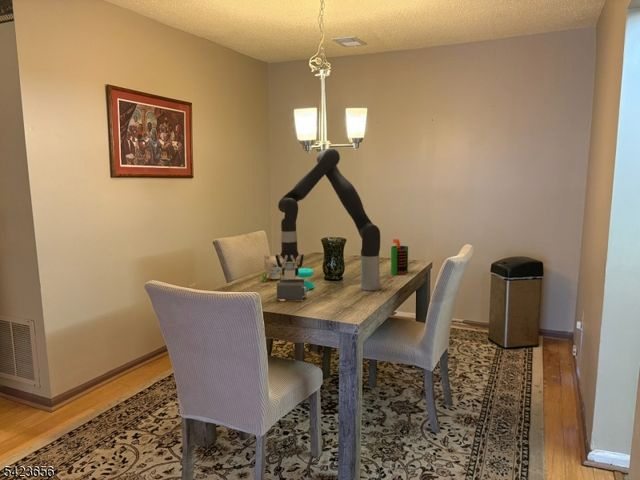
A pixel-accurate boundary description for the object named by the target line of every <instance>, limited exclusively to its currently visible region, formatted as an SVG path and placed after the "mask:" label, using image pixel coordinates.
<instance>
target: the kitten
mask: <svg viewBox="0 0 640 480" xmlns="http://www.w3.org/2000/svg"><path fill="white" fill-rule="evenodd" d="M277 254H281V252H278V253H277ZM275 256H276V255H273V256H270V255H268V254H264V256H263V258H264V269H265V273H263V274H262V277H261V278H262V281H263V280H266V281H267V279H269V278H270V279H278V278H281V272H282V268H281V267H278V265H277V261H276V257H275ZM280 262H281V264H282V265H283V259H282V257H281V258H280ZM267 273H268V278H267ZM270 279H269V280H270Z"/></svg>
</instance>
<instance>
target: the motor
mask: <svg viewBox="0 0 640 480" xmlns="http://www.w3.org/2000/svg"><path fill="white" fill-rule="evenodd" d="M392 243H393V244H395V245H393V246H391V247H390V274H391V275H392V276H405V275H407V274H408V273H409V246H407V245H401V243H400V240H399V238H394V239H393V240H392Z"/></svg>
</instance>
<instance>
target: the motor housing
mask: <svg viewBox="0 0 640 480" xmlns="http://www.w3.org/2000/svg"><path fill="white" fill-rule="evenodd" d="M304 281H305V278H295V279H284V278H281V279H280V280H279V282H276V300H277V299H285V300H304V299H305V297H306V296H307V293H308V290H307V288H306V287H305V282H304ZM304 296H305V297H304ZM303 298H304V299H303Z"/></svg>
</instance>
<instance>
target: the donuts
mask: <svg viewBox="0 0 640 480" xmlns="http://www.w3.org/2000/svg"><path fill="white" fill-rule="evenodd" d="M298 271H299V273H298V275H297V276H296V278H297V277H298V278H300V279H305V278H310V277H312V276H313V275H314V274H315V272H314V270H313V269H312V268H305V267H304V268H302V267H300V268H298ZM304 282H305V287H306V288H307V291H309V290H308V289H310V290H312V288H313V289H314V287H315V284H314V283H313V282H312V281H311V280H304Z"/></svg>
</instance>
